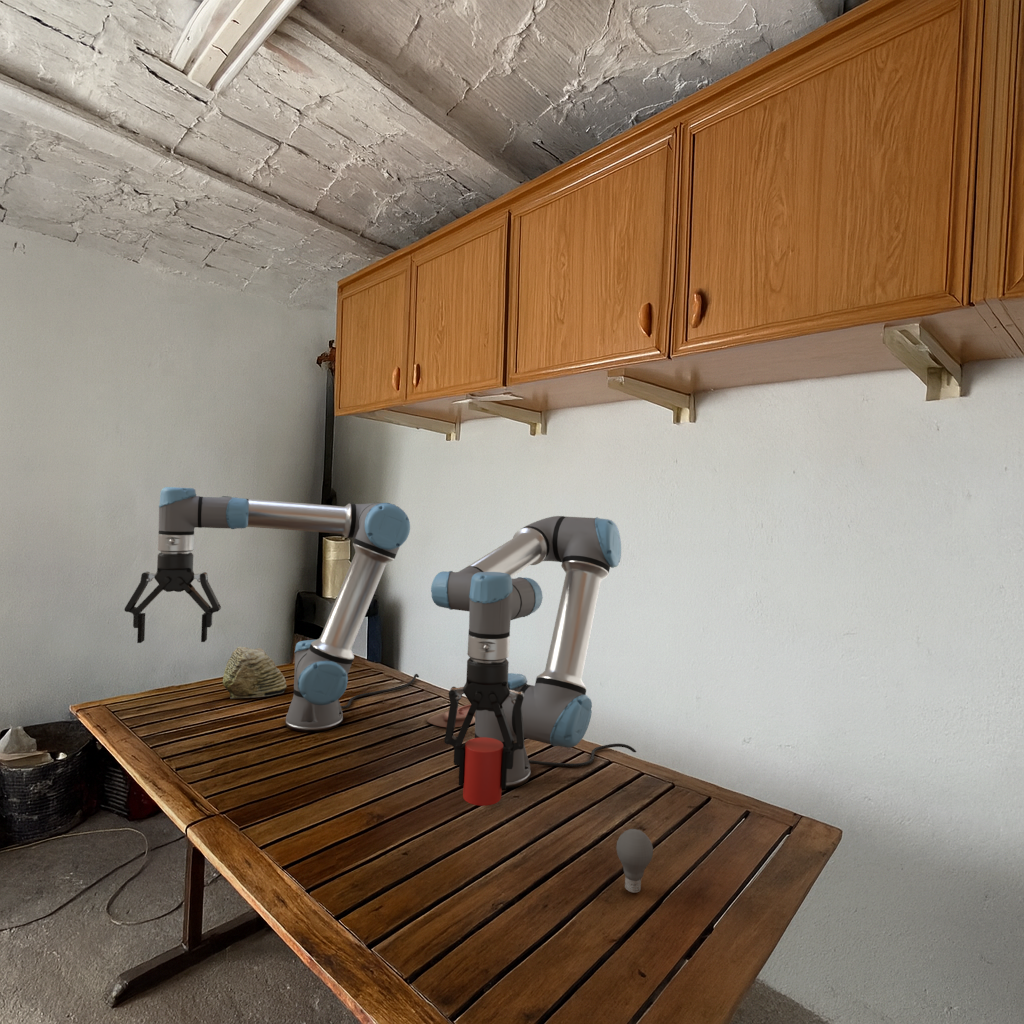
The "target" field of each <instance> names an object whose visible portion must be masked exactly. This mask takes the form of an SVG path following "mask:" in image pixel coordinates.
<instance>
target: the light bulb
mask: <svg viewBox="0 0 1024 1024" xmlns="http://www.w3.org/2000/svg"><path fill="white" fill-rule="evenodd" d="M615 849H616V854H617V857H618V859H619V861H620V863H621V865H622V867H623V873H624V874H623V875H624V876H625V878H624V888H625V890H627V891H628V892H630V893H634V894H635V893H639V892H640V891H641V889H642V887H641V886H642V879H643V877H644V875H645V871H646V868H647V867H648V866H649V864H650V863H651V861H652V859H653V855H654V847H653V843H652V841H651V838H649V836H648V835H647V834H646V833H645V832H643V831H642V830H641V829H636V828H629V829H627V830H625V831H623V832H622V833H621V834H620V835H619V837H618V839H617V841H616V847H615Z"/></svg>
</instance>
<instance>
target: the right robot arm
mask: <svg viewBox="0 0 1024 1024" xmlns="http://www.w3.org/2000/svg"><path fill="white" fill-rule="evenodd" d="M621 557H622V541H621V533H620V530H619V527H618V525H617V524H616V523H615V521H613V520H612V519H609V518H600V517H582V516H564V515H555V516H554V515H553V516H548V517H545V518H541V519H539V520H536V521H534V522H532V523H529V524H527V525H525V526H523V527H522V528H520V529H518V530H517V531H516V532H515V533H514V535H513V536H512V538H511V539H510V540H508V541H506V542H505V543H503V544H501V545H500V546H498V547H497V548H495V549H493V550H492V551H490V552H489V553H487V554H485V555H483V556H482V557H481V558H479V559H477V560H476V561H474V562H472V563H471V564H469V565H467V566H466V567H464V568H462V569H460V570H459V571H453V570H449V571H439V572H438V573H437V574H436V575H435V576H434V578H433V580H432V583H431V586H430V592H431V599H432V602H433V603H434V604H435V605H436V606H437V607H440V608H444V609H449V610H455V611H462V612H469V615H468V618H469V619H468V637H467V656H468V659H467V660H466V677H465V678H466V679H465V680H466V681H465V683H464V686H461V687H456V686H452V687H451V688H450V690H449V691H448V698H449V704H450V705H449V708H448V709H449V710H448V711H449V715H448V721H447V727H445V734H444V739H443V742H444V744H445V745H450V746H452V747H453V764H454V766H459V767H458V786H461V787H463V783H464V759H465V743H463V742H464V740H465V737H466V734H467V732H468V730H469V727H470V726H471V725H470V723H471V721H472V718H473V716H474V717H475V722H474V738H480V737H487V738H493V739H497V740H499V741H501V742H502V743H503V757H502V781H501V789H502V790H506V789H512V788H517V787H520V786H522V785H524V784H526V783H527V782H529V780H530V778H531V765H540V766H548V767H549V766H550V767H561V768H562V767H563V768H579V767H585V766H590V765H591V764H592V763H593V762H594V760H595V754H596V752H598V751H601V750H605V749H609V748H610V749H611V748H625V749H628V750H630V751H631V752H632V753H637V750H636V749H635V748H634V747H632V746H631V745H628V744H625V743H609V744H604V745H599V746H597V747H595V748H593V749H592V750H591V753H590V759H588V760H587V761H584V762H579V763H576V762H575V763H567V762H566V763H565V762H553V761H552V762H551V761H541V760H532V759H529V757H528V752H527V750H526V745H525V739H528V740H530V741H531V740H532V741H535V742H539V743H543V744H547V745H551V746H552V747H562V748H567V749H569V748H574V747H576V746H577V745H578V744H580V742H581V741H582V740H583V739H584V737H585V734H586V732H587V731H588V729H589V726H590V723H591V719H592V714H593V710H592V709H593V703H592V699H591V698H590V697H589V696H588V695H587V686H586V685H585V683H584V681H583V676H584V675H583V674H584V670H585V664H586V659H587V653H588V650H589V649H588V648H589V644H590V639H591V633H592V628H593V623H594V618H595V613H596V608H597V603H598V597H599V593H600V587H601V583H602V581H603V580H605V579H606V578H608V577H609V575H610V570H611V568H612V569H614V568H616V567H618V566H619V564H620V562H621ZM542 562H555V563H561V564H560V566H561V569H562V570H563V571H564V573H565V576H564V580H563V586H562V589H561V590H562V591H561V595H560V599H559V603H558V609H557V613H556V617H555V621H554V626H553V631H552V636H551V640H550V645H549V650H548V655H547V659H546V663H545V669H544V671H543V672H541V673H540V674H538V675H537V676H536V678H535V683H534V684H533V685H531V684H528V678H527V676H526V675H524V674H522V673H517V672H514V673H513V672H509V665H510V663H509V660H508V658H509V657H510V642H511V621H513V620H516V619H520V618H525V617H528V616H531V615H532V614H533V613H536V612H537V611H538V610H539V609H540V607H541V605H542V603H543V602H542V601H543V598H544V597H543V591H542V588H541V586H540V584H539V583H538V582H537V581H536V580H534V579H533V578H531V577H521V576H519V577H515V576H517V575H518V574H520V573H521V572H522V571H523V570H525V569H526V568H528V567H529V566H536V565H540V564H541V563H542ZM514 577H515V578H514ZM463 695H465V697H466V699H467V700H468V702H469V704H471V706H470V708H469V711H468V713H467V715H466V718H465V720H464V722H463V725H462V726H461V727H460V729H459V732H458V734H457V736H455V735H454V733H455V729H456V727H455V722H456V715H457V709H458V707H459V702H460V700H461V699H462V697H463Z"/></svg>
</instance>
